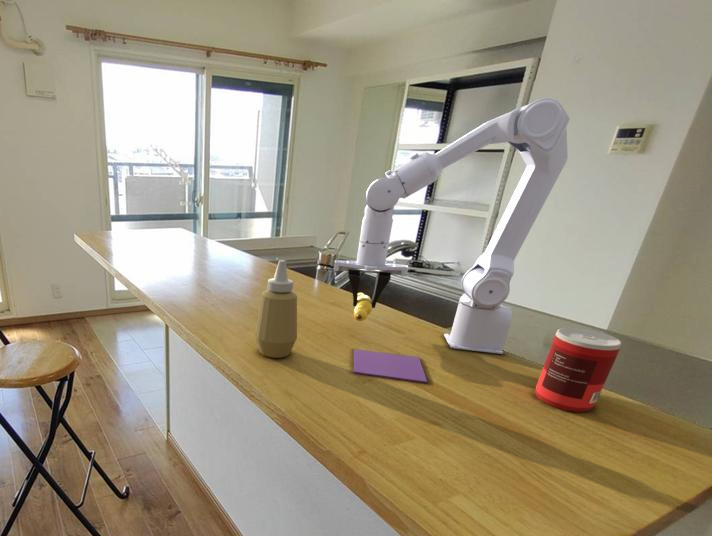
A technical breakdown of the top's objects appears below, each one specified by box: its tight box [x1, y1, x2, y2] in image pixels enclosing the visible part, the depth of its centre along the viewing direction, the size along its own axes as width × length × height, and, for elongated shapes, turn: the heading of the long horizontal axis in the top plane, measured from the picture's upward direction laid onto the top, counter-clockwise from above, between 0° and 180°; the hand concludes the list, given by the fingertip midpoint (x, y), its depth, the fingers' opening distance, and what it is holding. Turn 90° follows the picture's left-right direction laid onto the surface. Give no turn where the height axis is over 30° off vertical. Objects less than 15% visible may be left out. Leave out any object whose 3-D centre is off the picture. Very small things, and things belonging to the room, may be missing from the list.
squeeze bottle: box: [254, 259, 298, 359], centre depth 80 cm, size 8×8×18 cm
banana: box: [353, 292, 373, 322], centre depth 93 cm, size 4×17×3 cm, turn 163°
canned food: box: [535, 327, 622, 413], centre depth 66 cm, size 8×8×11 cm
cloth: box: [353, 348, 428, 384], centre depth 79 cm, size 12×11×1 cm
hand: (363, 305), depth 93 cm, fingers closed on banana, 3 cm apart
